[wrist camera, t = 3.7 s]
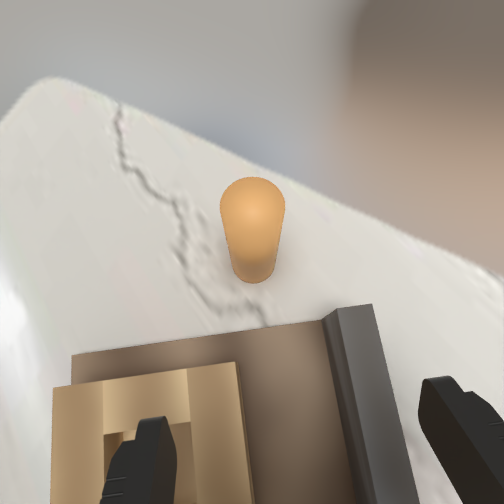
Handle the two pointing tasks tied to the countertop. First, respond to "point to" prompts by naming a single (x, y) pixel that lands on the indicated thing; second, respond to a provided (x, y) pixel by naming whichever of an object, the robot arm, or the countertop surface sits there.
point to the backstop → (298, 405)
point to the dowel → (252, 226)
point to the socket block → (181, 425)
